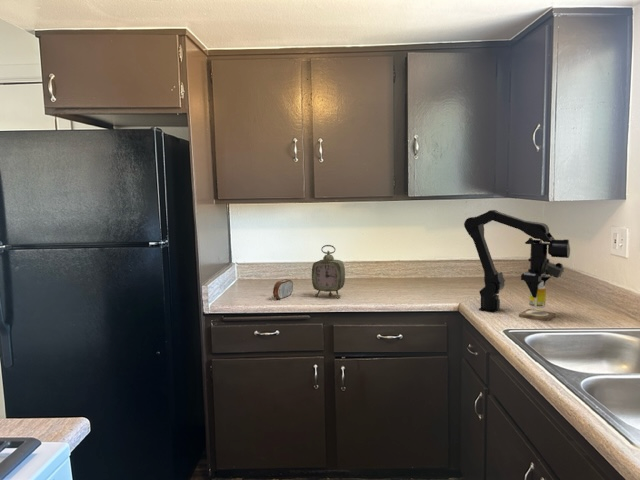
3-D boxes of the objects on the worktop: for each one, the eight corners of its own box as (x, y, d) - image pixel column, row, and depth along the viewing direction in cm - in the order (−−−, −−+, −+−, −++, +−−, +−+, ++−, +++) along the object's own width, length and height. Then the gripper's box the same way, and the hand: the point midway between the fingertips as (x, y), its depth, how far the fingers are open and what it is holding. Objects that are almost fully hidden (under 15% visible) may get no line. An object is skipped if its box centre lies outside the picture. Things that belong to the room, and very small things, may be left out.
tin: (288, 294, 224) (288, 277, 224) (294, 294, 223) (293, 277, 222) (272, 300, 211) (272, 282, 210) (278, 301, 210) (277, 283, 209)
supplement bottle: (547, 306, 175) (548, 280, 174) (542, 309, 171) (543, 282, 170) (532, 304, 179) (532, 278, 178) (527, 306, 174) (527, 280, 173)
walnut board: (518, 316, 175) (518, 313, 175) (528, 311, 182) (528, 308, 182) (546, 321, 168) (546, 318, 168) (555, 316, 175) (555, 312, 175)
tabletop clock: (312, 298, 214) (310, 245, 212) (318, 294, 223) (317, 243, 221) (341, 299, 210) (340, 246, 208) (346, 295, 219) (345, 244, 216)
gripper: (553, 260, 160) (551, 303, 162) (569, 255, 174) (567, 295, 175) (521, 258, 168) (519, 299, 170) (538, 253, 181) (537, 291, 183)
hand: (537, 296), depth 174 cm, fingers closed on supplement bottle, 6 cm apart
